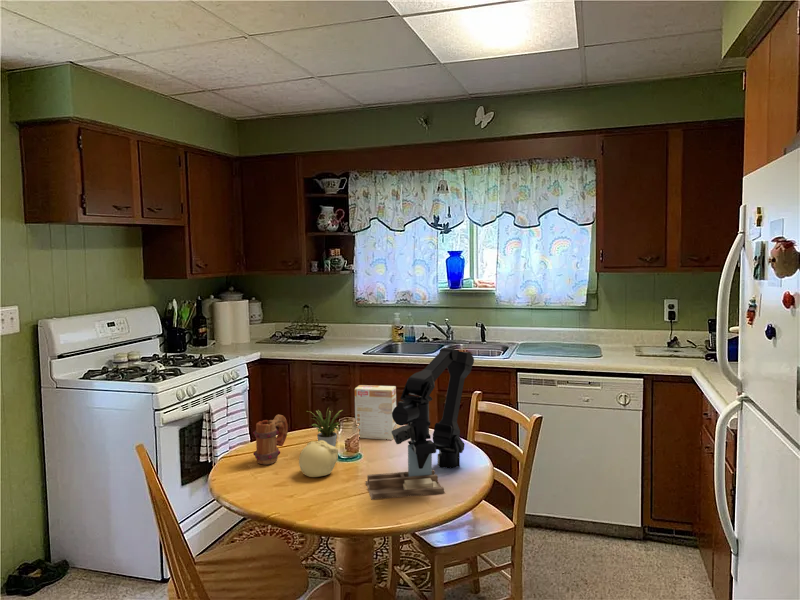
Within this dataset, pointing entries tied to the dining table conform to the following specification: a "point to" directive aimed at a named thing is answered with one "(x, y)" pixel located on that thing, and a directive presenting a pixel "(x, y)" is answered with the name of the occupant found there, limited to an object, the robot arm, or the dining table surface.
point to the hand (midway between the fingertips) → (419, 467)
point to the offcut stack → (419, 484)
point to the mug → (270, 439)
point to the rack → (398, 485)
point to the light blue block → (413, 464)
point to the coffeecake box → (375, 411)
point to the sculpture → (318, 458)
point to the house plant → (327, 428)
